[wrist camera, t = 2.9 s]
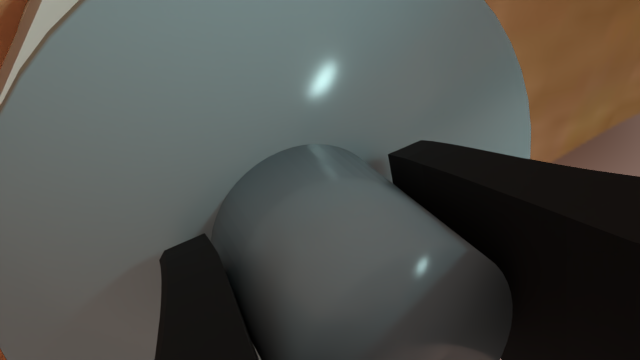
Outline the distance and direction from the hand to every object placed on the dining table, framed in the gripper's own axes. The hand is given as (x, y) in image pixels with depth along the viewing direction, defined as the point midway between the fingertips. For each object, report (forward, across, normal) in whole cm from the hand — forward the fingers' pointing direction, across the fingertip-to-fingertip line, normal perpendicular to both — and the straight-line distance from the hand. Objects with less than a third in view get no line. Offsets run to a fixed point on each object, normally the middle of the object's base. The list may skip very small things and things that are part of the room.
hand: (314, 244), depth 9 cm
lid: (+1, 0, 0) cm, 1 cm away
